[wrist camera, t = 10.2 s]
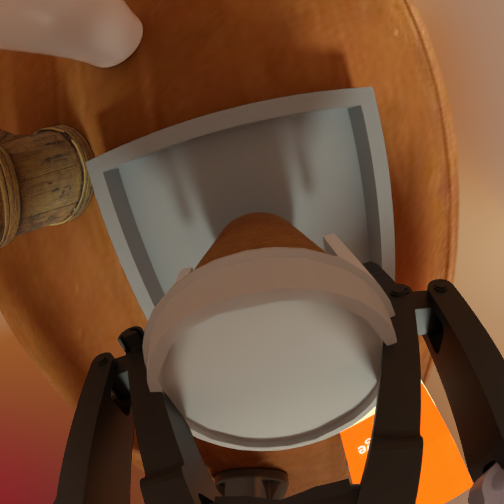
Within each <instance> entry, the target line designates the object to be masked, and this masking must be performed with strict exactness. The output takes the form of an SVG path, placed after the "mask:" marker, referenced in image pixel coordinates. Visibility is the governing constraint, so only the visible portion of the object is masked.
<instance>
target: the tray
mask: <svg viewBox="0 0 504 504" xmlns="http://www.w3.org/2000/svg"><path fill="white" fill-rule="evenodd" d="M85 163H86V166H87V170H88V173H89V177H90V180H91V183H92V187H93V190H94V193H95V196H96V199H97V202H98V205H99V208H100V211H101V214H102V217H103V220H104V222H105V225H106V228H107V231H108V233H109V236H110V238H111V241H112V243H113V246H114V248H115V251H116V253H117V256H118V258H119V261H120V263H121V265H122V268H123V270H124V272H125V275H126V277H127V279H128V281H129V283H130V286H131V288H132V290H133V292H134V294H135V296H136V298H137V300H138V302H139V304H140V307H141V309H142V311H143V313H144V315H145V316H146V318H147V320H149V318H150V316H151V313H152V311H153V309H154V308H155V306H156V305H157V304H158V303H159V302H160V300H161V299H162V298H163V297H164V295H165V294H166V293H167V292H168V291H169V289H170V288H171V287H172V286H173V285H174V283H175V281H176V279H177V277H178V274H179V272H180V270H181V269H185V268H189V267H192V268H193V270H194V269H195V268H196V266H197V265H198V263H199V262H200V260H201V259H202V258H203V256H204V255H205V254H206V252H207V251H208V250H209V248H210V247H211V246H212V244H213V243H214V242H215V240H216V239H217V237H218V236H219V234H220V233H221V232H222V230H223V229H224V228H225V227H226V226H227V225H228V224H229V223H230V222H231V221H233V220H234V219H236V218H238V217H240V216H243V215H245V214H249V213H257V212H264V213H271V214H275V215H277V216H280V217H282V218H284V219H285V220H287V221H288V222H290V223H291V224H292V225H293V226H294V227H295V228H297V229H298V230H299V231H300V232H302V233H303V234H304V235H305V236H306V237H308V238H309V239H310V240H311V241H313V242H314V243H315V244H316V245H317V246H319V247H320V248H321V249H322V250H324V251H325V249H324V243H323V236H324V235H328V234H332V233H334V234H335V235H336V236H337V237H338V238H339V239H340V240H341V241H342V242H343V243H344V245H345V246H346V247H347V248H348V249H349V250H350V251H351V252H352V254H353V255H354V256H355V257H356V258H357V259H358V260H359V262H360V263H361V264H362V263H366V262H370V261H372V262H374V263H376V264H378V265H379V266H380V267H381V268H382V269H383V270H384V271H385V272H386V274H388V275H389V276H390V277H391V278H392V279H393V280H394V281H395V234H394V216H393V204H392V193H391V184H390V176H389V168H388V161H387V154H386V148H385V142H384V137H383V131H382V126H381V121H380V117H379V112H378V108H377V103H376V99H375V95H374V91H373V87H363V88H349V89H337V90H328V91H319V92H312V93H304V94H298V95H292V96H286V97H280V98H275V99H270V100H265V101H260V102H255V103H251V104H246V105H242V106H238V107H234V108H230V109H226V110H222V111H219V112H215V113H211V114H208V115H205V116H201V117H198V118H195V119H191V120H188V121H185V122H182V123H179V124H176V125H173V126H170V127H167V128H165V129H162V130H159V131H156V132H154V133H151V134H149V135H146V136H143V137H141V138H138V139H136V140H134V141H131V142H129V143H126V144H124V145H122V146H119V147H117V148H115V149H113V150H110V151H108V152H106V153H104V154H102V155H100V156H98V157H96V158H94V159H91V160H89V161H87V162H85Z"/></svg>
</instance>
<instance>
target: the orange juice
mask: <svg viewBox="0 0 504 504" xmlns="http://www.w3.org/2000/svg"><path fill="white" fill-rule="evenodd" d="M375 408H376V406H375V407H374V408H373V409H372V410H371V411H370V412H369V413H368V414H367V415H366V416H364V417H363V418H362V419H360V420H359V421H358V422H356V423H355V424H353V425H352V426H350V427H349V428H347V429H345V430H343V431H341V432H340V435H341V439H342V442H343V446H344V450H345V454H346V458H347V462H348V466H349V470H350V474H351V478H352V482H353V484H360V482H361V478H362V474H363V470H364V467H365V462H366V458H367V453H368V449H369V444H370V439H371V433H372V428H373V422H374V415H375ZM420 435H421V436H422V437H423V441H424V443H423V457H422V466H421V474H420V481H419V487H418V493H417V498H416V503H415V504H444V503H446V502H448V501H449V500H451V499H453V498H455V497H456V496H458V495H459V494H461V493H463V492H464V491H466V490H467V489H469V488H470V487H472V485H473V483H472V480H471V478H470V476H469V473H468V471H467V469H466V467H465V464H464V462H463V460H462V458H461V456H460V453H459V451H458V449H457V447H456V444H455V443H454V440H453V438H452V436H451V434H450V432H449V430H448V428H447V426H446V424H445V423H444V421H443V419H442V417H441V415H440V413H439V411H438V409H437V408H436V405H435V403H434V401H433V400H432V398H431V396H430V394H429V393H428V391H427V389H426V387H425V386H424V384H423V382H422V381H421V424H420Z"/></svg>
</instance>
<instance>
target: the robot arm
mask: <svg viewBox="0 0 504 504" xmlns="http://www.w3.org/2000/svg"><path fill="white" fill-rule="evenodd" d="M323 243H324V249H325V252H326V253H327V254H330V255H334V256H338V257H341V258H343V259H344V260H346V261H348V262H350V263H351V264H353V265H355V266H356V267H358V268H360V269H361V270H363V271H365V272H366V273H367V274H368V275H369V276H371V277H372V278H373V279H374V280H375V281H376V282H377V283H378V284H379V285H380V286H381V288H382V289H383V291H384V292H385V294H386V295H387V296H388V298H389V299H390V302H391V304H392V307H393V310H394V312H395V316H393V317H391V318H390V319H391V322H392V325H393V328H394V331H395V334H396V338H397V342H396V343H394V344H391V345H388V346H387V345H386V344H385V343H384V341H383V347H382V358H381V368H380V376H379V385H378V393H377V401H376V408H375V415H374V422H373V428H372V433H371V439H370V444H369V449H368V453H367V458H366V462H365V467H364V470H363V474H362V478H361V482H360V484H350V482H349V479H345V480H341V481H338V482H334V483H329V484H325V485H321V486H316V487H313V488H311V489H308V490H306V491H304V492H301V493H298V494H296V495H293V496H290V497H288V498H285V495H286V492H287V489H288V485H289V482H288V475H287V474H286V473H284V472H282V471H279V470H274V469H264V468H244V469H233V470H228V471H223V472H220V473H218V474H217V475H216V476H215V485H214V483H213V481H212V479H211V476H210V474H209V472H208V470H207V468H206V466H205V463H204V461H203V459H202V457H201V454H200V452H199V450H198V447H197V445H196V443H195V440H194V438H193V435H192V433H191V430H190V428H189V425H188V424H187V422H186V420H185V419H184V417H183V416H182V414H181V413H180V412H179V410H178V409H177V408H176V406H175V405H174V404H173V402H172V401H171V400H170V398H169V397H168V396H167V394H166V393H165V392H164V391H163V390H162V391H163V393H164V394H163V393H162V392H150V390H149V386H148V383H147V368H146V365H145V362H144V355H143V348H142V346H143V339H144V331H143V330H142V328H141V327H139V326H135V327H131V328H128V329H126V330H125V331H124V332H122V333H121V334H120V336H119V338H118V341H119V343H120V344H121V346H122V348H123V349H124V351H125V352H126V355H125V356H122V357H119V358H116V359H114V357H113V356H112V354H111V353H102V354H100V355H98V356H97V357H96V358H95V359H94V360H93V361H92V363H91V366H90V369H89V372H88V374H87V377H86V380H85V383H84V386H83V389H82V392H81V395H80V398H79V401H78V405H77V408H76V411H75V415H74V419H73V422H72V425H71V429H70V433H69V437H68V441H67V445H66V449H65V454H64V458H63V463H62V467H61V473H60V478H59V484H58V490H57V497H56V500H55V501H54V504H130V482H131V481H130V479H131V461H132V446H133V434H134V424H135V428H136V434H137V439H138V444H139V449H140V453H141V458H142V462H143V466H144V470H145V477H144V478H142V479H141V480H140V487H141V492H142V495H143V499H144V502H145V504H415V503H416V498H417V493H418V487H419V481H420V474H421V466H422V457H423V443H424V441H423V437H422V436H421V435H420V424H421V370H420V353H419V341H418V335H422V336H423V338H424V340H425V342H426V344H427V347H428V349H429V351H430V354H431V356H432V359H433V361H434V363H435V366H436V368H437V371H438V373H439V376H440V379H441V381H442V384H443V386H444V389H445V392H446V395H447V398H448V401H449V404H450V406H451V410H452V413H453V416H454V419H455V422H456V426H457V429H458V433H459V436H460V440H461V444H462V448H463V452H464V456H465V460H466V464H467V467H468V471H469V473H470V475H471V478H472V480H473V482H474V484H473V485H472V487H471V489H470V492H469V498H468V503H469V504H504V359H503V357H502V355H501V354H500V352H499V350H498V349H497V347H496V345H495V344H494V342H493V340H492V339H491V337H490V336H489V334H488V333H487V331H486V330H485V328H484V327H483V325H482V324H481V322H480V321H479V319H478V318H477V316H476V315H475V313H474V312H473V311H472V309H471V308H470V306H469V305H468V304H467V302H466V301H465V300H464V298H463V297H462V296H461V294H460V293H459V292H458V291H457V289H456V288H455V287H454V285H453V284H452V283H451V282H449V281H447V280H444V279H443V280H442V279H437V280H433V281H431V282H430V283H429V284H428V287H427V291H417V292H412V290H411V288H410V287H408V286H407V285H403V284H397V283H396V282H395V281H394V280H393V279H392V278H391V277H390V276H389V275H388V274H386V272H385V271H384V270H383V269H382V268H381V267H380V266H379V265H378V264H376V263H374V262H372V261H370V262H366V263H362V264H361V263H360V262H359V260H358V259H357V258H356V257H355V256H354V255H353V254H352V252H351V251H350V250H349V249H348V248H347V247H346V246H345V245H344V243H343V242H342V241H341V240H340V239H339V238H338V237H337V236H336V235H335V234H334V233H332V234H328V235H324V236H323ZM192 271H193V268H192V267H189V268H185V269H181V270H180V272H179V274H178V277H177V279H176V281H175V283H177V282H178V281H179V280H181V279H182V278H184V277H185V276H186V275H188V274H189V273H191V272H192ZM175 283H174V284H175ZM111 394H112V397H111ZM164 395H165V396H164Z"/></svg>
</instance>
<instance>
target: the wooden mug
mask: <svg viewBox="0 0 504 504" xmlns="http://www.w3.org/2000/svg"><path fill="white" fill-rule="evenodd" d="M91 159H94V155H93V153H92V150H91V148H90V146H89V144H88V142H87V141H86V140H85V138H84V137H83V136H82V135H81V134H80V133H79V132H78V131H77V130H75V129H74V128H72V127H69V126H66V125H57V126H51V127H47V128H42V129H40V130H38V131H36V132H34V133H33V134H32V135H30V136H26V135H14V134H11V133H9V132H6V131H4V130H1V129H0V248H2V247H4V246H6V245H8V244H9V243H11V241H12V240H13V239H14V237H16V236H19V235H21V234H24V233H27V232H30V231H33V230H35V229H38V228H41V227H44V226H47V225H59V224H62V223H65V222H68V221H72V220H74V219H75V218H77V217H78V216H80V215H81V214H82V213H83V211H84V210H85V209H86V208H87V206H88V205H89V203H90V200H91V198H92V196H93V193H94V190H93V187H92V183H91V180H90V177H89V173H88V170H87V166H86V163H85V162H87V161H89V160H91Z"/></svg>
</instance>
